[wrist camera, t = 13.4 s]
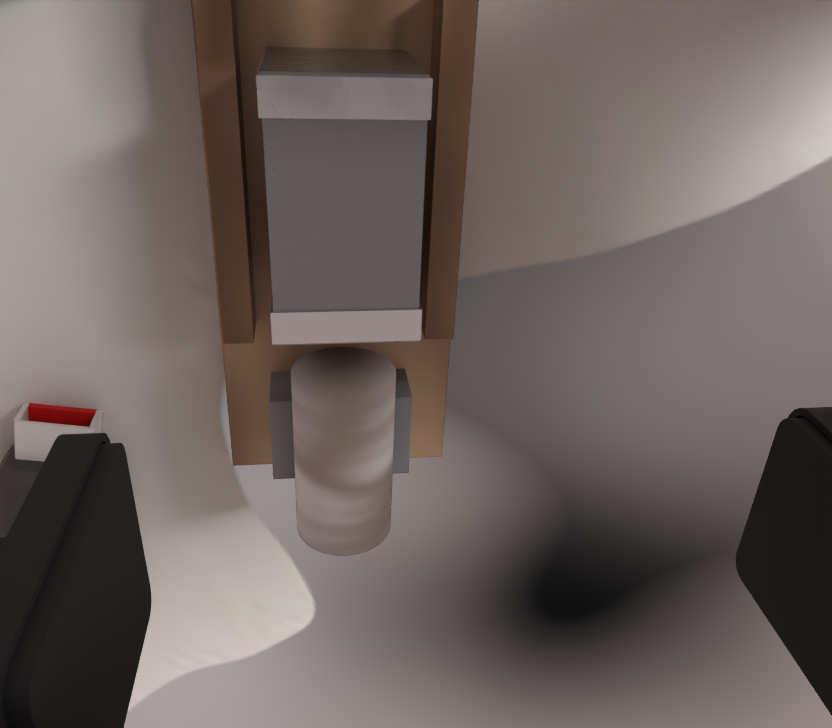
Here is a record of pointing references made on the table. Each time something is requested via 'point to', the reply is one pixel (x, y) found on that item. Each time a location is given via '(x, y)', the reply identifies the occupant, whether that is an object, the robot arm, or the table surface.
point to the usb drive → (36, 450)
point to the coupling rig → (251, 268)
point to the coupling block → (344, 192)
